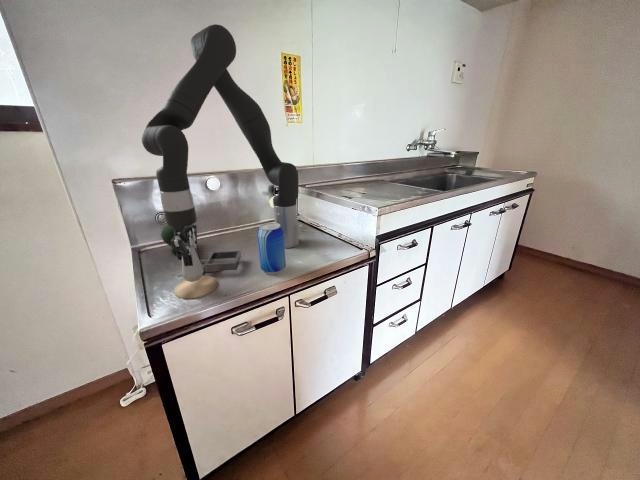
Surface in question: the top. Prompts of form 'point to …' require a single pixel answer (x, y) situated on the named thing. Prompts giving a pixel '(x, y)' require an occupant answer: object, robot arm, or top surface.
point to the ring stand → (211, 267)
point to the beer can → (271, 248)
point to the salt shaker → (193, 271)
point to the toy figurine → (169, 237)
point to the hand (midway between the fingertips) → (191, 263)
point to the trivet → (195, 287)
